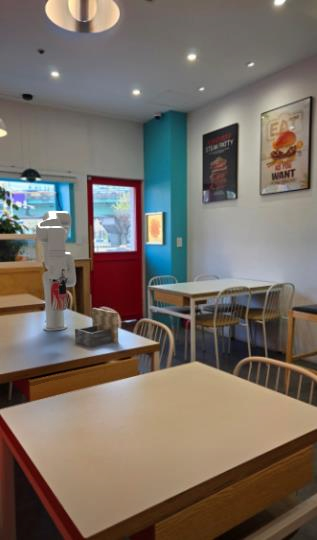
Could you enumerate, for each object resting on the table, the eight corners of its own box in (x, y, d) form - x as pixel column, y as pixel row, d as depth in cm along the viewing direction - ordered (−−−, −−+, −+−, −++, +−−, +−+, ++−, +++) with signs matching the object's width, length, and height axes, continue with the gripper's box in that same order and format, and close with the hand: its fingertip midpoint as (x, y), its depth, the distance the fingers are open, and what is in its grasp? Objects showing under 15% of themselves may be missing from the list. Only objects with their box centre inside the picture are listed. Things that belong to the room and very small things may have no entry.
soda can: (69, 308, 176) (68, 280, 175) (63, 311, 169) (62, 282, 168) (54, 308, 177) (53, 280, 176) (48, 311, 170) (47, 282, 169)
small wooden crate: (73, 340, 179) (72, 311, 178) (96, 335, 188) (95, 307, 187) (94, 348, 166) (93, 316, 165) (118, 342, 175) (117, 312, 174)
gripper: (40, 254, 175) (42, 292, 177) (58, 254, 162) (60, 296, 164) (55, 253, 180) (57, 290, 182) (74, 254, 167) (75, 294, 169)
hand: (58, 292), depth 173 cm, fingers closed on soda can, 6 cm apart
